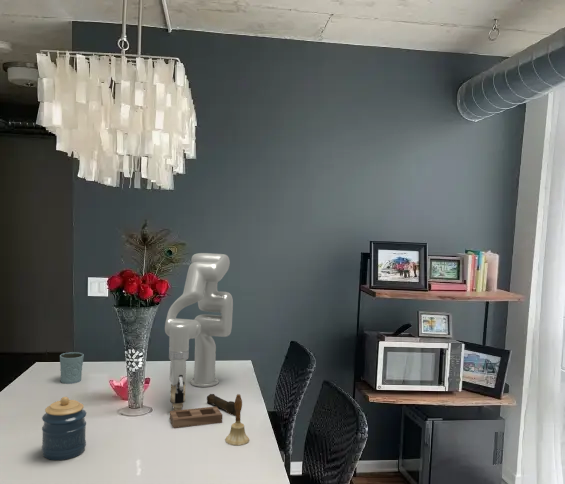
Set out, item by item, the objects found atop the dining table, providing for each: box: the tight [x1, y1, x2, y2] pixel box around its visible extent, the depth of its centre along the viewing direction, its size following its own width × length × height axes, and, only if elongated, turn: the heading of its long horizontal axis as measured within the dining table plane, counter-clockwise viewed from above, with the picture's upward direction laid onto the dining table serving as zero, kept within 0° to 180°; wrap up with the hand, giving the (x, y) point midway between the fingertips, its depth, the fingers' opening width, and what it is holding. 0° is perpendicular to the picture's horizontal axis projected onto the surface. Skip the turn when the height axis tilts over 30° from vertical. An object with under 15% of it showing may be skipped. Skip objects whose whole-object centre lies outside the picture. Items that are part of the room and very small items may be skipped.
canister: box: [41, 396, 87, 461], centre depth 165 cm, size 13×13×18 cm
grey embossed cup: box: [59, 351, 85, 385], centre depth 235 cm, size 10×10×12 cm
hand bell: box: [224, 393, 250, 446], centre depth 177 cm, size 8×8×16 cm
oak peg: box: [170, 383, 186, 411], centre depth 204 cm, size 6×6×10 cm
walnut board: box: [168, 405, 223, 429], centre depth 193 cm, size 9×18×3 cm, turn 111°
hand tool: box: [206, 393, 236, 416], centre depth 206 cm, size 19×4×5 cm, turn 40°
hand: (177, 399), depth 204 cm, fingers closed on oak peg, 5 cm apart
